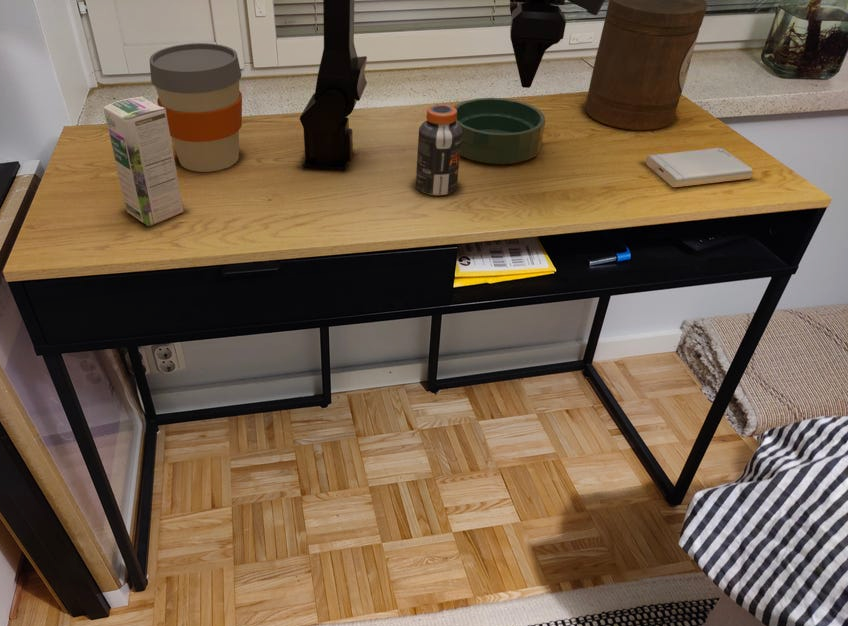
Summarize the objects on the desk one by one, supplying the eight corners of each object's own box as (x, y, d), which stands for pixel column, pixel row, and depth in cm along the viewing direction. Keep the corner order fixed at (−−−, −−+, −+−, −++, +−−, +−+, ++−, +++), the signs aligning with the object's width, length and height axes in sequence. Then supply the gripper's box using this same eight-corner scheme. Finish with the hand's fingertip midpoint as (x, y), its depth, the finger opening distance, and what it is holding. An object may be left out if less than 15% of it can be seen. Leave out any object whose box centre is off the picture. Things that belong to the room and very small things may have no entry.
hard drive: (720, 146, 108) (647, 153, 106) (754, 169, 102) (677, 177, 100) (716, 156, 109) (644, 163, 107) (750, 180, 103) (674, 188, 101)
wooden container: (691, 126, 118) (736, -20, 103) (610, 134, 115) (645, -14, 101) (645, 94, 129) (680, -42, 114) (570, 101, 126) (596, -38, 112)
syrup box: (125, 212, 95) (99, 105, 86) (163, 197, 98) (141, 93, 89) (147, 228, 92) (123, 119, 83) (186, 212, 95) (166, 105, 86)
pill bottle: (454, 198, 98) (462, 119, 91) (412, 194, 99) (416, 115, 92) (459, 179, 103) (466, 102, 95) (418, 175, 104) (423, 98, 96)
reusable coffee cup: (151, 170, 105) (129, 66, 95) (191, 136, 114) (175, 39, 104) (228, 182, 102) (214, 76, 92) (263, 147, 111) (253, 47, 101)
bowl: (445, 163, 107) (447, 131, 104) (450, 125, 118) (452, 95, 114) (541, 169, 105) (547, 137, 102) (537, 130, 116) (542, 100, 113)
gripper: (624, -37, 77) (592, 105, 87) (606, -70, 91) (580, 56, 101) (521, -42, 78) (501, 99, 88) (518, -74, 92) (502, 51, 102)
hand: (525, 75), depth 95 cm, fingers open, 9 cm apart
